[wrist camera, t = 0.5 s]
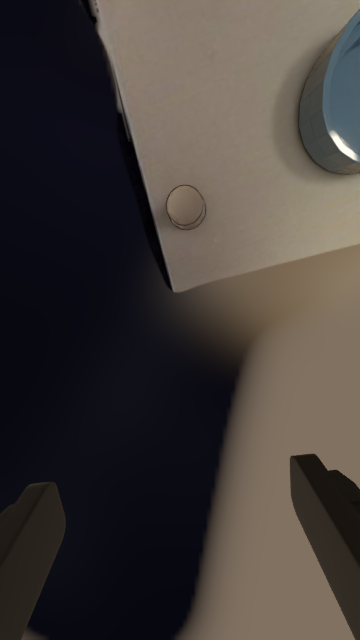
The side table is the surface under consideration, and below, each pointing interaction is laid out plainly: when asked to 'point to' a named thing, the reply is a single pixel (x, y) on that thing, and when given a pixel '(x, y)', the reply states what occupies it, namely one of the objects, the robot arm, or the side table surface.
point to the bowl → (334, 104)
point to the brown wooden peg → (186, 207)
